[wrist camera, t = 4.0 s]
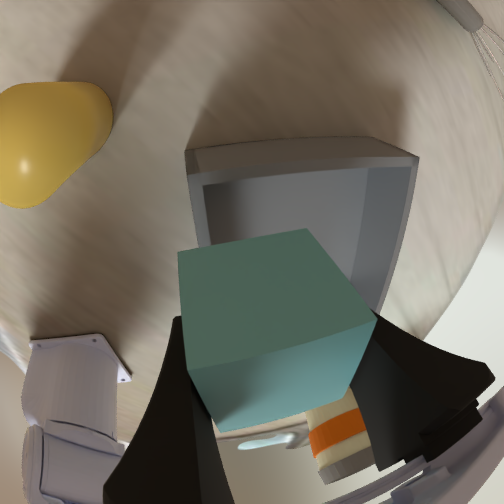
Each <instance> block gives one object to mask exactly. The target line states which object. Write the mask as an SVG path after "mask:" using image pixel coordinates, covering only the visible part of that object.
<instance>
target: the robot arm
mask: <svg viewBox="0 0 504 504" xmlns="http://www.w3.org/2000/svg"><path fill="white" fill-rule="evenodd" d="M370 310H371V311H372V312H373V314H374V315H375V316H376V318H377V322H376V324H375V327H374V330H373V332H372V335H371V337H370V340H369V342H368V344H367V347H366V349H365V352H364V354H363V356H362V358H361V361H360V363H359V365H358V367H357V370H356V372H355V374H354V376H353V378H352V380H351V382H350V384H349V386H350V388H351V390H352V392H353V395H354V397H355V400H356V402H357V405H358V407H359V410H360V413H361V415H362V418H363V421H364V424H365V427H366V430H367V433H368V436H369V440H370V443H371V447H372V451H373V455H374V459H375V464H376V466H377V468H378V470H379V471H382V470H384V469H386V468H388V467H390V466H392V465H394V464H396V463H398V462H399V461H401V460H403V459H404V461H405V463H406V464H405V465H404V466H402V467H400V468H398V469H397V470H395V471H393V472H391V473H390V474H388V475H386V476H384V477H382V478H380V479H378V480H376V481H374V482H372V483H370V484H368V485H366V486H364V487H362V488H360V489H357V490H355V491H353V492H351V493H348V494H346V495H343V496H341V497H338V498H336V499H333V500H331V501H328V502H325V503H323V504H363V503H365V502H367V501H369V500H371V499H373V498H375V497H377V496H379V495H381V494H383V493H385V492H387V491H389V490H391V489H393V488H394V487H396V486H398V485H400V484H401V483H403V482H405V481H406V480H408V479H410V478H411V477H413V476H414V475H416V474H417V473H419V472H420V471H422V470H423V473H422V474H421V475H419V476H417V477H415V478H413V479H411V480H409V481H407V482H405V483H404V484H402V485H401V486H399V487H398V488H396V489H395V490H393V491H392V492H391V498H390V499H388V500H385V501H383V502H381V503H379V504H467V503H468V502H469V501H470V500H471V499H472V498H473V496H474V495H475V494H476V493H477V492H478V490H479V489H480V488H481V487H482V486H483V484H484V483H485V482H486V480H487V479H488V478H489V477H490V475H491V474H492V472H493V471H494V470H495V468H496V467H497V466H498V464H499V463H500V461H501V460H502V458H503V457H504V386H503V387H502V388H501V389H500V390H499V391H498V392H497V393H496V394H495V395H494V396H493V397H492V398H490V399H489V400H488V401H487V402H486V403H485V404H484V405H482V406H481V407H480V408H479V409H478V410H477V408H476V407H477V406H478V405H479V403H478V401H477V400H476V398H477V397H478V396H480V395H481V394H482V393H483V391H485V390H486V389H487V388H488V387H489V386H490V385H491V384H492V383H493V382H494V381H495V376H494V375H493V373H492V372H491V371H490V369H489V368H488V366H487V365H486V364H485V363H483V362H479V361H475V360H471V359H467V358H464V357H461V356H458V355H455V354H452V353H449V352H446V351H444V350H441V349H439V348H437V347H434V346H432V345H430V344H428V343H426V342H424V341H422V340H420V339H418V338H416V337H414V336H412V335H410V334H409V333H407V332H405V331H403V330H402V329H400V328H398V327H397V326H395V325H394V324H392V323H391V322H389V321H387V320H386V319H384V318H383V317H382V316H380V315H379V314H377V313H376V312H374V311H373V310H372V309H370ZM29 346H30V347H31V349H32V354H31V357H30V361H29V365H28V369H27V372H26V377H25V381H24V385H23V390H22V396H21V398H22V399H21V401H22V409H23V413H24V416H25V418H26V420H27V422H28V423H29V425H30V427H28V428H27V430H26V433H25V438H24V444H23V452H22V476H23V491H24V496H25V498H26V499H27V501H28V504H235V503H234V500H233V497H232V494H231V491H230V488H229V485H228V482H227V478H226V475H225V472H224V469H223V465H222V461H221V458H220V454H219V451H218V446H217V442H216V438H215V434H214V430H213V425H212V419H211V415H210V413H209V412H208V410H207V408H206V406H205V404H204V402H203V400H202V398H201V397H200V395H199V393H198V391H197V389H196V387H195V385H194V383H193V381H192V379H191V377H190V375H189V373H188V370H187V363H186V355H185V346H184V337H183V326H182V316H176V317H175V318H174V319H173V323H172V328H171V334H170V338H169V342H168V346H167V350H166V354H165V357H164V361H163V364H162V368H161V371H160V374H159V377H158V380H157V383H156V386H155V389H154V392H153V394H152V397H151V399H150V402H149V404H148V407H147V409H146V412H145V414H144V416H143V418H142V420H141V422H140V425H139V427H138V429H137V431H136V433H135V435H134V437H133V439H132V440H131V442H130V444H129V446H128V447H127V449H126V451H125V450H124V445H123V444H120V443H117V383H119V382H129V381H131V380H132V377H131V375H130V374H129V373H128V371H127V370H126V368H125V367H124V366H123V364H122V363H121V361H120V360H119V359H118V357H117V356H116V354H115V353H114V351H113V350H112V348H111V347H110V345H109V344H108V342H107V341H106V339H105V337H104V336H103V335H101V334H91V335H82V336H73V337H64V338H54V339H43V340H31V341H29Z"/></svg>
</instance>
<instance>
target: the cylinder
mask: <svg viewBox="0 0 504 504" xmlns="http://www.w3.org/2000/svg"><path fill="white" fill-rule="evenodd" d="M112 123H113V110H112V105H111V102H110V100H109V98H108V96H107V95H106V93H105V92H104V91H103V90H102V89H101V88H99V87H98V86H96V85H94V84H92V83H88V82H36V83H23V84H18V85H15V86H12V87H10V88H8V89H6V90H5V91H4V92H2V93H1V94H0V202H2V203H3V204H5V205H8V206H10V207H14V208H22V209H23V208H30V207H34V206H36V205H38V204H40V203H42V202H44V201H45V200H46V199H47V198H49V197H50V196H51V195H52V194H53V193H54V192H55V191H56V190H57V189H58V188H59V187H60V186H61V185H62V184H63V183H64V182H65V181H66V180H67V179H68V178H69V177H70V176H71V175H72V174H73V173H74V172H75V171H76V170H77V169H78V168H79V167H80V166H82V165H83V164H84V163H85V162H86V161H87V160H88V159H89V158H90V157H92V156H93V155H94V154H95V153H96V152H97V151H98V150H100V148H101V147H102V146H103V145H104V143H105V142H106V140H107V138H108V137H109V134H110V132H111V128H112Z"/></svg>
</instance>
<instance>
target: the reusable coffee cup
mask: <svg viewBox="0 0 504 504" xmlns="http://www.w3.org/2000/svg"><path fill="white" fill-rule="evenodd" d="M305 414H306V418H307V422H308V426H309V430H310V433H309V440H310V444H311V448H312V452H313V456H314V458H317V462H318V466H319V470H320V471H318V473H319V475H320V477H321V478H322V480H323V482H324V484H325V485H326V484H330V483H333V482H335V481H338V480H340V479H343V478H345V477H348V476H350V475H352V474H355V473H357V472H359V471H361V470H363V469H365V468H367V467H369V466H371V465H373V464H375V459H374V455H373V451H372V447H371V443H370V440H369V436H368V433H367V430H366V427H365V424H364V421H363V418H362V415H361V413H360V410H359V407H358V405H357V402H356V400H355V397H354V395H353V392H352V390H351V389H350V388H349V387H348V389H347V391H346V393H345V395H344V396H343V398H342V399H339V400H336V401H334V402H331V403H328V404H326V405H323V406H320V407H317V408H314V409H311V410H308V411H305Z"/></svg>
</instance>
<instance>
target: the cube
mask: <svg viewBox="0 0 504 504" xmlns="http://www.w3.org/2000/svg"><path fill="white" fill-rule="evenodd" d="M177 253H178V274H179V290H180V303H181V315H182V326H183V337H184V346H185V355H186V363H187V370H188V373H189V375H190V377H191V379H192V381H193V383H194V385H195V387H196V389H197V391H198V393H199V395H200V397H201V398H202V400H203V402H204V404H205V406H206V408H207V410H208V412H209V413H210V415H211V417H212V419H213V421H214V422H215V424H216V426H217V428H218V430H219V431H220V433H222V432H227V431H232V430H237V429H242V428H246V427H251V426H255V425H259V424H263V423H267V422H271V421H275V420H278V419H282V418H285V417H289V416H292V415H296V414H299V413H302V412H305V411H308V410H311V409H314V408H317V407H320V406H323V405H326V404H328V403H331V402H334V401H336V400H339V399H342V398H343V396H344V395H345V393H346V391H347V389H348V386H349V384H350V382H351V380H352V378H353V376H354V374H355V372H356V370H357V367H358V365H359V363H360V361H361V358H362V356H363V354H364V352H365V349H366V347H367V344H368V342H369V340H370V337H371V335H372V332H373V330H374V327H375V324H376V322H377V318H376V316H375V315H374V314H373V312H372V311H371V310H370V308H369V307H368V305H367V304H366V303H365V301H364V300H363V299H362V297H361V296H360V295H359V293H358V292H357V291H356V289H355V288H354V287H353V286H352V284H351V283H350V282H349V280H348V279H347V278H346V276H345V275H344V274H343V273H342V271H341V270H340V269H339V267H338V266H337V265H336V264H335V262H334V261H333V260H332V259H331V257H330V256H329V255H328V254H327V252H326V251H325V250H324V249H323V247H322V246H321V245H320V244H319V242H318V241H317V240H316V239H315V238H314V236H313V235H312V234H311V233H310V231H309V230H308V229H307V228H304V229H298V230H292V231H287V232H281V233H276V234H270V235H265V236H259V237H254V238H249V239H243V240H238V241H232V242H227V243H222V244H217V245H211V246H206V247H201V248H196V249H191V250H185V251H180V252H177Z"/></svg>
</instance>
